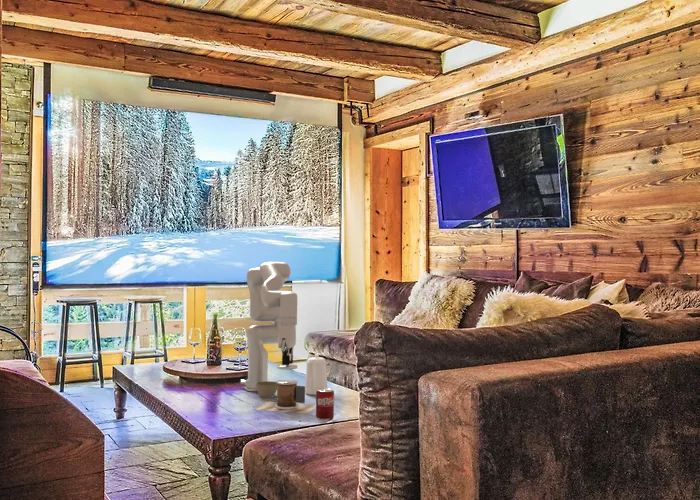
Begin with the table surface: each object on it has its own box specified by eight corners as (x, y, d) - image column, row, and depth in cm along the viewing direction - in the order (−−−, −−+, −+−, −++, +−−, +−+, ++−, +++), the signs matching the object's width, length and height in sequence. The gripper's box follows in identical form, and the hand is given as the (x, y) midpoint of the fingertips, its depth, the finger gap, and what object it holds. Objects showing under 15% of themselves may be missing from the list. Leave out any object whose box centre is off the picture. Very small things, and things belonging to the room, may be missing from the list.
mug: (271, 409, 280) (271, 383, 280) (279, 403, 290) (280, 379, 290) (300, 411, 277) (301, 385, 277) (307, 406, 287) (308, 380, 287)
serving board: (253, 412, 279) (253, 409, 279) (267, 403, 294) (267, 401, 294) (307, 416, 273) (307, 413, 273) (318, 408, 289) (318, 405, 289)
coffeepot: (297, 398, 307) (298, 357, 307) (311, 387, 332) (312, 350, 332) (320, 399, 305) (321, 359, 305) (332, 389, 329) (333, 351, 329)
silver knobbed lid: (274, 368, 281) (274, 354, 281) (281, 365, 289) (281, 351, 289) (293, 370, 279) (293, 355, 279) (300, 366, 287) (300, 352, 287)
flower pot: (281, 397, 308) (281, 382, 308) (271, 401, 299) (272, 386, 299) (262, 395, 312) (262, 380, 312) (252, 399, 302) (252, 384, 302)
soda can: (315, 417, 272) (316, 388, 273) (333, 417, 273) (333, 388, 273) (316, 421, 265) (316, 391, 265) (334, 421, 266) (334, 391, 266)
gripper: (286, 319, 293) (285, 360, 293) (273, 322, 277) (272, 366, 277) (302, 319, 291) (301, 361, 291) (290, 323, 275) (289, 367, 275)
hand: (287, 363), depth 284 cm, fingers closed on silver knobbed lid, 3 cm apart
